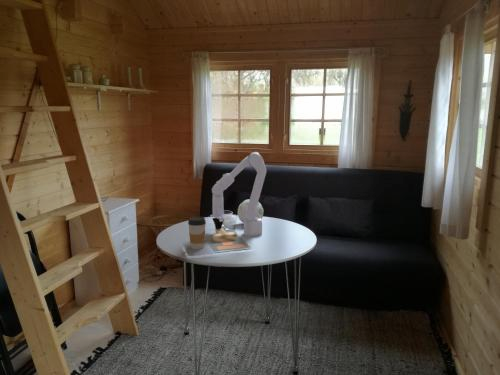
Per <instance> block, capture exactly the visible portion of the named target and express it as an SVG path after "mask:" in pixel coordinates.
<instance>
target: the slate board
mask: <svg viewBox="0 0 500 375" xmlns="http://www.w3.org/2000/svg"><path fill="white" fill-rule="evenodd" d="M212 234H213V233H210V234H205V242H206V243H207V244H208V245H209V247H210V248H211V250H212V251H214V252H216V254H219V253H220V254H221V253H222V252H223V251H225V253H229V252H231V251H232V250H234V252H238V251H240V250H241V249H243V251H247V250H249V249H250V248H251V246H250V245H249V244H248V243H247V242H246V240H244V239H243V238H242V237H241V236H239V235H238V234H237V240H229V241H219V242H213V241H212ZM236 249H237V250H236ZM219 251H220V252H219Z"/></svg>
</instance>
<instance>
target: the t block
mask: <svg viewBox="0 0 500 375" xmlns="http://www.w3.org/2000/svg"><path fill="white" fill-rule="evenodd" d="M214 230H215V233H211V234H212V241H213V242H219V241H229V240H237V235H238V233H237V232H235V231H228V232H227V231H226V230H225V229H224V228H222V227H221V229H215V228H214Z"/></svg>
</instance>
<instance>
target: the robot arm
mask: <svg viewBox="0 0 500 375" xmlns="http://www.w3.org/2000/svg"><path fill="white" fill-rule="evenodd" d="M251 166H252V167H253V168H254V170H255V172H256V176H255V180H254V182H253V187H252V191H251V193H250V197H249V199H250V201H249V204H248V206H247V207H246V208H245V213H244V217H245V218H244V223H243V235H244V236H246V237H248V236H249V237H253V236H262V235H263V222H262V219H257V217H256V212H257V209H256V208H257V204H258V202H259V199H260V196H261V193H262V190H263V185H264V182H265V178H266V175H267V167H266V164H265V161H264V157H263V156H262V155H261V154H260V153H259V152H258V151H254V152H253V151H252V152H251V153H250V154H249V155H247V156H246V157H244V159H242V160H241V161H240V162H239V163H238V164H237V165H236V166H235V167H234V169H233V170H232V171H231V172H229V173H228V172H226V173H223V174H222V177H221V178H220V179H219V180H217V181H216V182H215V184H214V185H213V186H212V188H211V193H212V214H210V217H211V219H212V221H213V224H214V230H215V229H221V228H222V227H223V224H224V222H225V219H224V216H225V213H224V191H225V190H227V189H228V187H230V186H231V185H232V184H233V183H234V182H235V177H236V176H238V175H239V174H240V173H241V172H242V171H243V170H244V169H245V168H248V167H251Z"/></svg>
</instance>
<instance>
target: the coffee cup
mask: <svg viewBox="0 0 500 375" xmlns="http://www.w3.org/2000/svg"><path fill="white" fill-rule="evenodd" d="M187 222H188V223H187V224H188V233H189V235H188V236H189V242H190V244H189V245H190V249H193V250H202V249H203V248H205V243H206V240H205V235H206V225H207V224H206V223H207V221H206V219H205V217H203V216H192V217H189V218H188V221H187Z"/></svg>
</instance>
